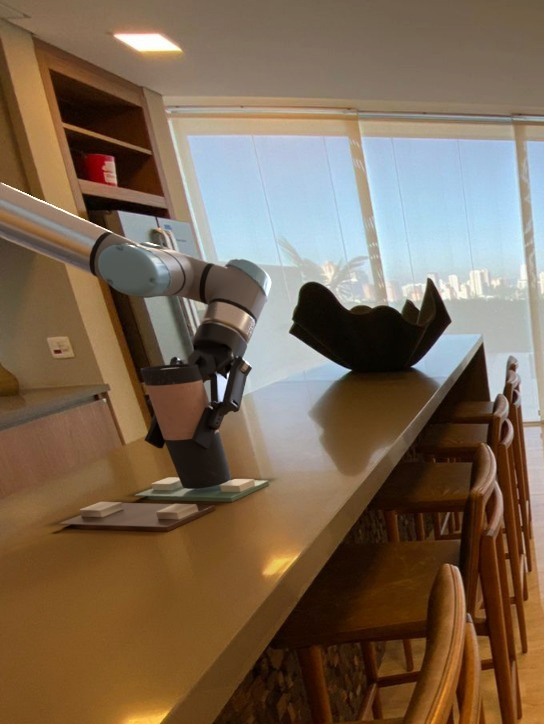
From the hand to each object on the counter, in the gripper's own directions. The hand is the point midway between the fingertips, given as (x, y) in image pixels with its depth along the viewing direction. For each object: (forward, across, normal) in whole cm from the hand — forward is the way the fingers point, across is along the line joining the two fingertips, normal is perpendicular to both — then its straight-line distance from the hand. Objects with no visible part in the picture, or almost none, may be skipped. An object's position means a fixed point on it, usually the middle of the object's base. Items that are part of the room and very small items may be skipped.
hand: (176, 444), depth 93 cm
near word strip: (+13, +1, 0) cm, 13 cm away
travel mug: (+3, 0, -8) cm, 9 cm away
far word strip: (+4, +1, -9) cm, 10 cm away
